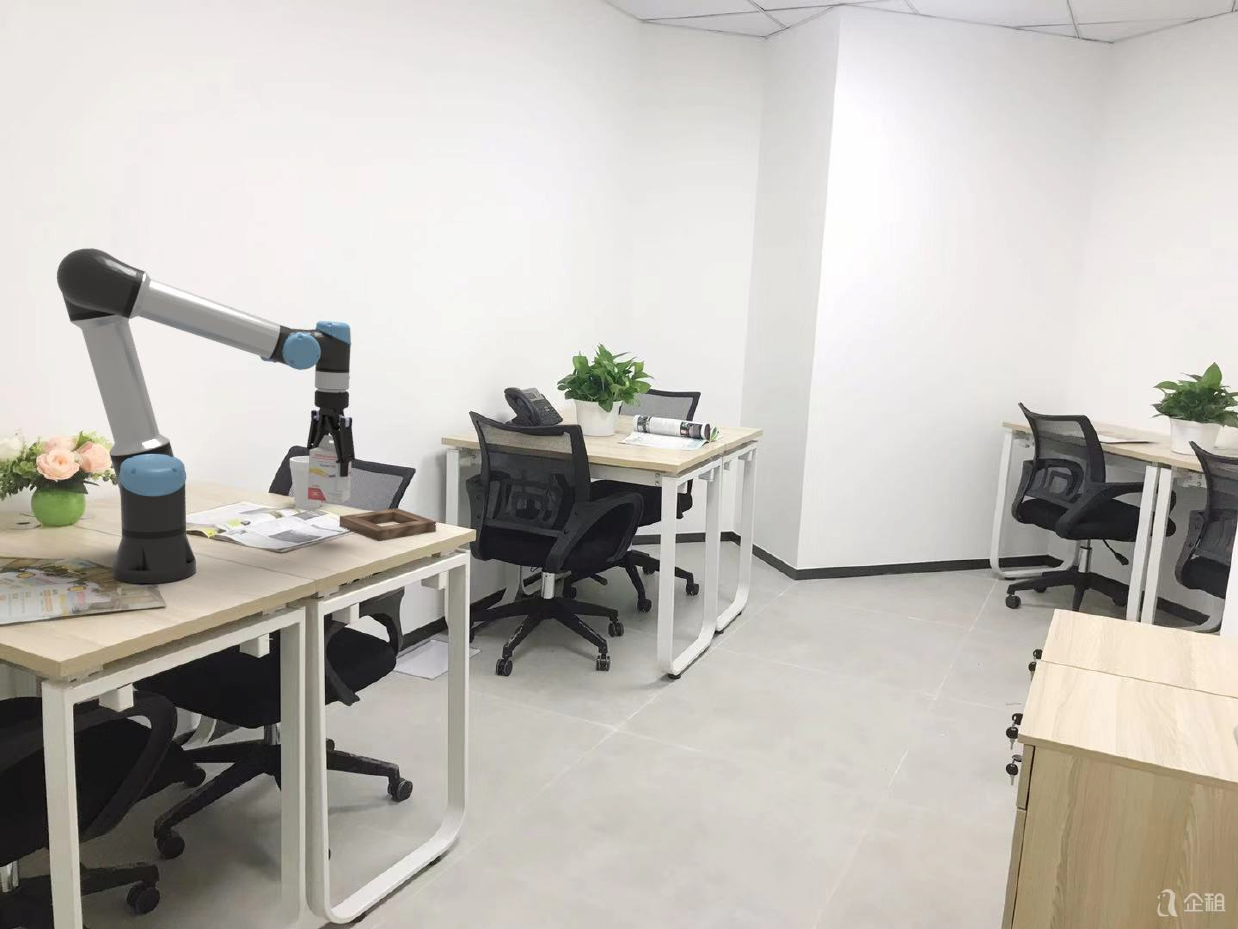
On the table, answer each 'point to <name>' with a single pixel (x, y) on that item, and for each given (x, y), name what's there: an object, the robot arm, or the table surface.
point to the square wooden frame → (407, 526)
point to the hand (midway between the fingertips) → (329, 486)
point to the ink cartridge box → (325, 473)
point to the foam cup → (302, 483)
